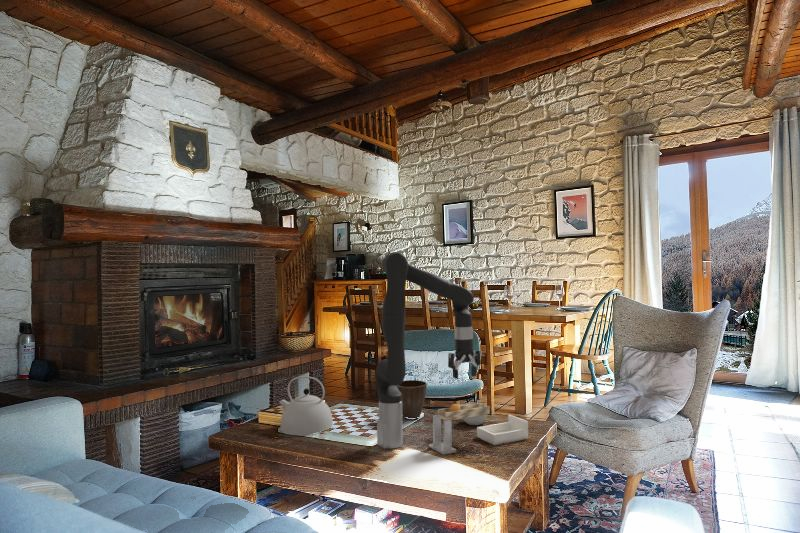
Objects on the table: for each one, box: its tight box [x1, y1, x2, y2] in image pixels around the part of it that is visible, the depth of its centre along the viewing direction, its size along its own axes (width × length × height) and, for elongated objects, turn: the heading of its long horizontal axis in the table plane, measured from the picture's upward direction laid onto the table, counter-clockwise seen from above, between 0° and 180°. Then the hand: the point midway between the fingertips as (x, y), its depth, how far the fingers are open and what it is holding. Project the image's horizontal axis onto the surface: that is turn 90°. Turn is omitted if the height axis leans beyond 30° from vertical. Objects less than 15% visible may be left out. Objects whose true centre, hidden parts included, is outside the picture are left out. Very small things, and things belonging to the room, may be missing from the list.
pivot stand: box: [428, 414, 457, 456], centre depth 198 cm, size 6×10×12 cm, turn 27°
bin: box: [476, 414, 529, 446], centre depth 211 cm, size 17×12×7 cm
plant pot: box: [397, 379, 428, 418], centre depth 242 cm, size 15×15×16 cm
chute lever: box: [437, 402, 491, 421], centre depth 207 cm, size 20×15×3 cm
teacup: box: [462, 401, 487, 426], centre depth 233 cm, size 14×11×8 cm
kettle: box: [278, 375, 334, 436], centre depth 229 cm, size 25×23×23 cm
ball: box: [449, 403, 460, 412], centre depth 201 cm, size 4×4×4 cm
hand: (464, 377), depth 212 cm, fingers open, 8 cm apart
